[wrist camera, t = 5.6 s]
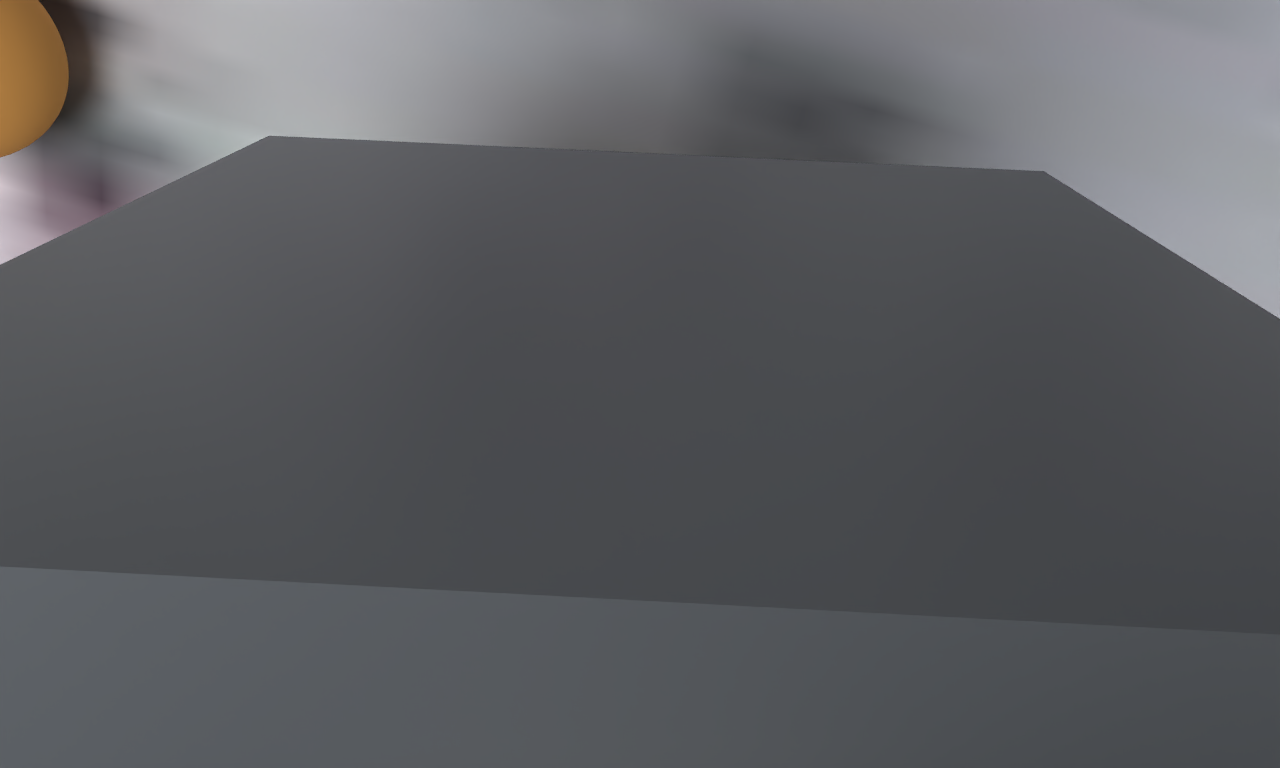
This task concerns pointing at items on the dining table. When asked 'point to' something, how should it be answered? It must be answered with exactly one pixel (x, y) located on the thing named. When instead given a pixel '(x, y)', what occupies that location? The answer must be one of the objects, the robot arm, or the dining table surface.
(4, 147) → the ball
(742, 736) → the smooth grey cube
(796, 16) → the dining table surface
